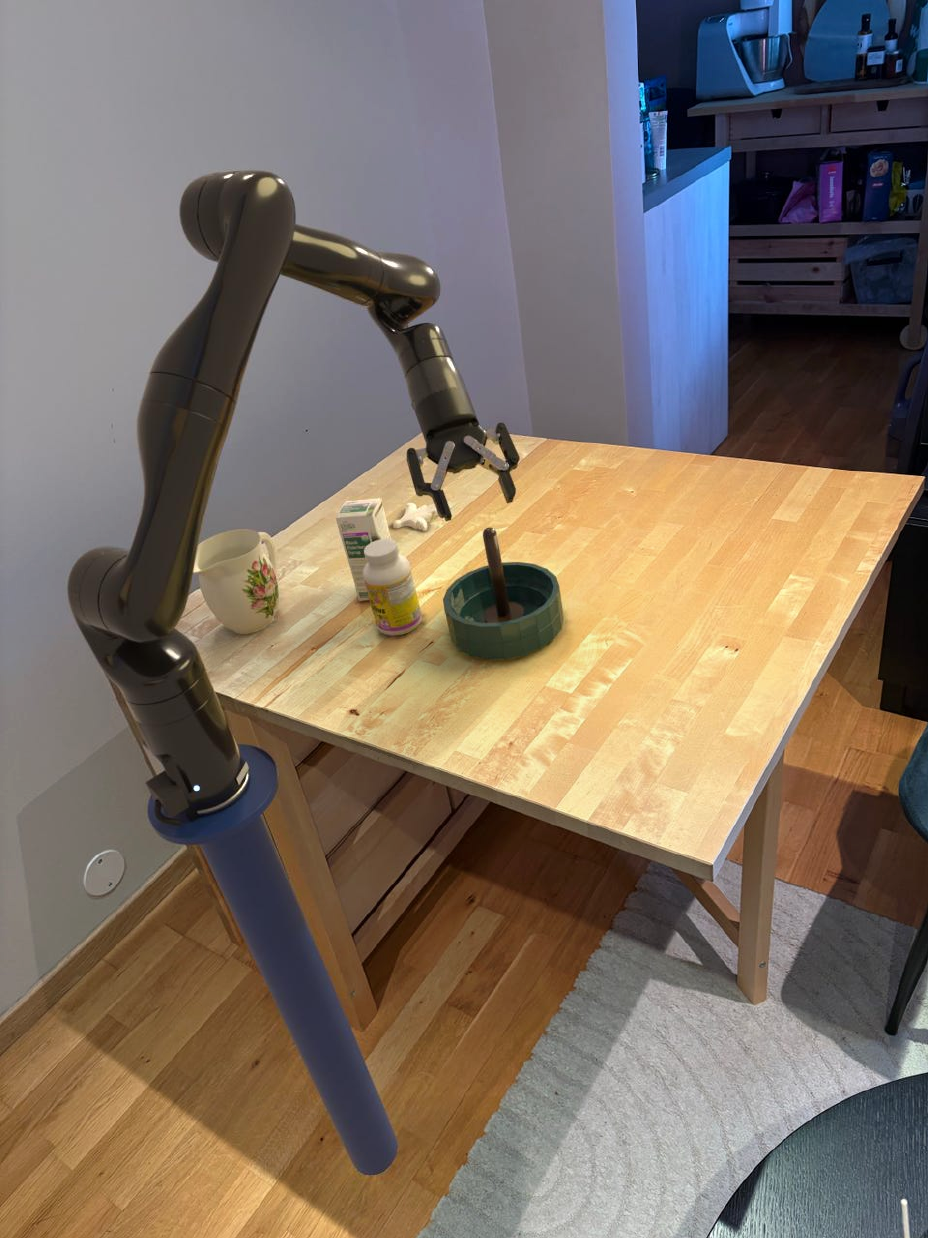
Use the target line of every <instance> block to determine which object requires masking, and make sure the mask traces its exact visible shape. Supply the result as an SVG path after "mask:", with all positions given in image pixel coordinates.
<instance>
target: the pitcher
mask: <svg viewBox="0 0 928 1238" xmlns="http://www.w3.org/2000/svg"><path fill="white" fill-rule="evenodd" d="M262 542H263V543H264V545H265V547H266V550H267V553H268V556H267V555H266V553H264V551H263V543H262ZM278 569H279V554H278V550H277V547H276V544H275V541H274V540H273V538H272V537H271V536H270V535H269V534H268V533H267V532H264V531H258V532H257V531H256V530H253V529H247V528H240V529H239V528H238V529H232V530H227V531H223V532H219V533H217V534H214V535H211V536H210V537H208V538H206V539H204V540H202V541H201V542H200V543H198V549H197V554H196V560H195V565H194V571H193V575H198V583H199V589H200V591H201V595H202V597H203V600H204V601H205V604H206V605H207V607H208V609H209V610H210V612H211V613H212V615H213V616H214V617H215V618H216V619H217V621H218V622H220V623H221V624H222V625H223V626H224V627H226V628H227V629H229V630H230V631H233V632H234V633H236V634H241V635H247V634H253V633H256V632H259V631H261V630H263V629H265V628H266V627H268V626H269V625H270V624H271V623H272V622H273V620H274V618H275V616H276V613H277V611H278V608H279V607H278V606H279V598H280V597H279V595H280V594H279V584H278V578H277V574H278Z"/></svg>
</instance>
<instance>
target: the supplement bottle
mask: <svg viewBox="0 0 928 1238" xmlns="http://www.w3.org/2000/svg"><path fill="white" fill-rule="evenodd" d="M364 554H365V559H366V560H367V562H368V563H367V564H366V565H365V567H364V569H363V577H364V581H365V584H366V588H367V592H368V596H369V599H370V600H369V603H370V607H371V610H372V614H373V617H374V621H375V624H376V627H377V629H378V631H379V632H381V633H382V634H385V635H386V636H402V635H405V634H408V633H410V632H412V631H413V630H415V629H416V628H418V626H420V624H421V622H422V619H423V615H422V610H421V606H420V602H419V598H418V594H417V590H416V585H415V582H414V577H413V573H412V569H411V565H410V564H411V563H410V562H409V560H408V559H407V558H406V557H405V556H404V555H402V554H400V549H399V545H398V542H397V541H396V540H394V539H392V538H391V539H381V540H377V541H374V542H372V543H370V544H369V545H367V546H366V547H365V549H364Z"/></svg>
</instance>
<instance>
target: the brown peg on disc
mask: <svg viewBox="0 0 928 1238" xmlns="http://www.w3.org/2000/svg"><path fill="white" fill-rule="evenodd" d="M482 539H483V544H484V549H485V555H486V556H485V557H486V561H487V565H488V566H489V572H490V577H491V583H492V588H493V593H494V599H495V605H493V606H491V607H489V608H488V609H487V610H486V611H485V613H484V621H485V623H500V622H505V621H510V620H515V619H518V618H521V617H523V616H525V611H524V608H523V607H522V606H521V605H520V604H518V603H515V602H509V601H508V595H507V590H506V584H505V578H504V573H503V567H502V563H503V562H502V556H501V550H500V546H499V545H500V544H499V539H498V532H497V531H496V529H495V528H493V527H490V526H489V527H485V528H484V530H483V532H482Z"/></svg>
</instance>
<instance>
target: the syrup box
mask: <svg viewBox="0 0 928 1238" xmlns="http://www.w3.org/2000/svg"><path fill="white" fill-rule="evenodd" d="M335 520H336V525H337V528H338V531H339V536H340V539H341V542H342V545H343V549H344V553H345V556H346V559H347V562H348V563H347V564H348V566H349V569H350V574H351V577H352V580H353V584H354V587H355V588H354V589H355V592H356V596H357V600H358V601H359V602H364V601H370V599H369V596H368V592H367V588H366V584H365V581H364V577H363V569H364V567H365V565H366V564H367V563H368V562H367V560H366V559H365V554H364V549H365V547H366V546H367V545H369V544H370V543H372V542H374V541H377V540H381V539H392V536H391V534H390V529H389V525H388V521H387V517H386V513H385V509H384V504H383V501H382V497H377V498H370V499H369V498H368V499H359V500H346V501H345V502H344V503H343V504H342V506H341V507H340V509H339V511H338V512H337V515H336V517H335Z"/></svg>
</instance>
